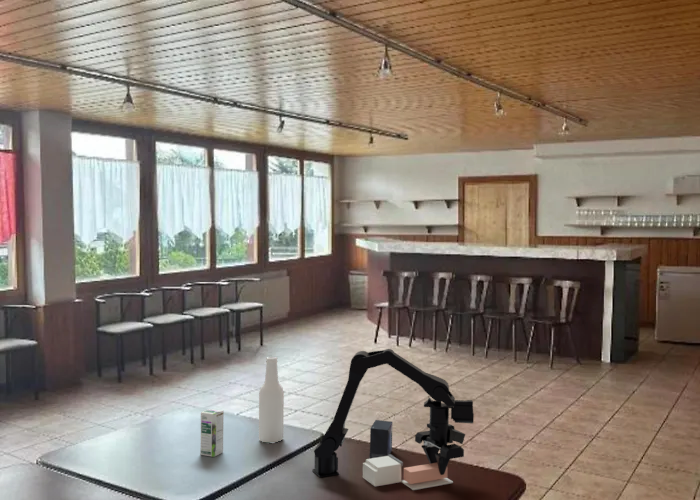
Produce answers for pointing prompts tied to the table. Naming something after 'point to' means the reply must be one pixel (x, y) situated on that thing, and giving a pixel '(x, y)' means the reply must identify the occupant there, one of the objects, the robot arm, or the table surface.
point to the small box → (380, 439)
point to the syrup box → (211, 432)
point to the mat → (427, 483)
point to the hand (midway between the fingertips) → (438, 472)
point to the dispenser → (382, 470)
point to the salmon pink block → (423, 473)
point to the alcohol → (271, 405)
